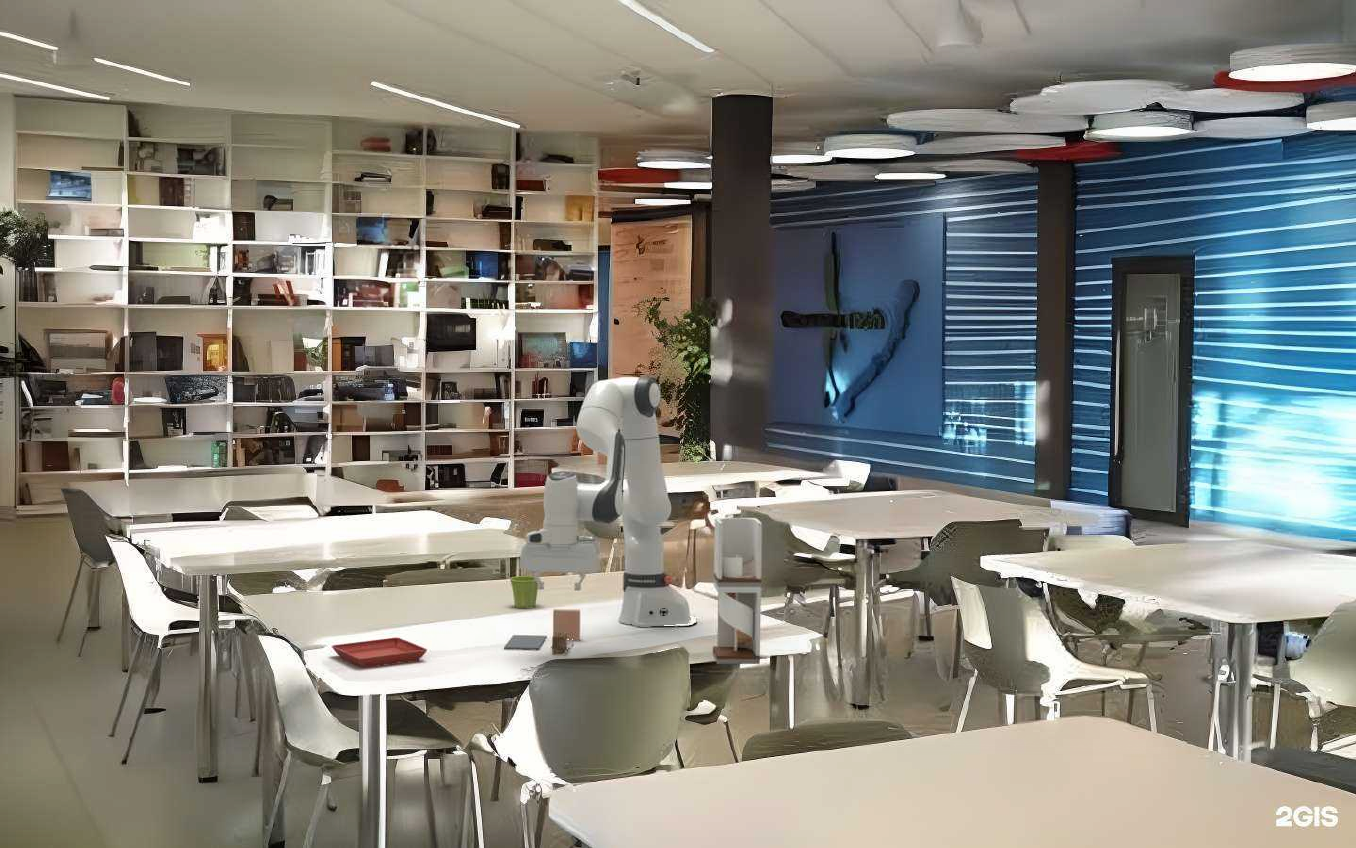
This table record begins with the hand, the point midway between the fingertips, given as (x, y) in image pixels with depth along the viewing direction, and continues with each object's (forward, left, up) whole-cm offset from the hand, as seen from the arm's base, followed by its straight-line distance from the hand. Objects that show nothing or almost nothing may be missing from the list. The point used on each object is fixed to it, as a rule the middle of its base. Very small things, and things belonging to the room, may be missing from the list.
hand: (559, 589), depth 351 cm
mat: (+10, -10, -16) cm, 21 cm away
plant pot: (+18, -64, -16) cm, 68 cm away
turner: (0, -4, -16) cm, 16 cm away
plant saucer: (+43, +12, -17) cm, 48 cm away
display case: (-45, +4, -16) cm, 48 cm away
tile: (0, -16, -16) cm, 23 cm away
